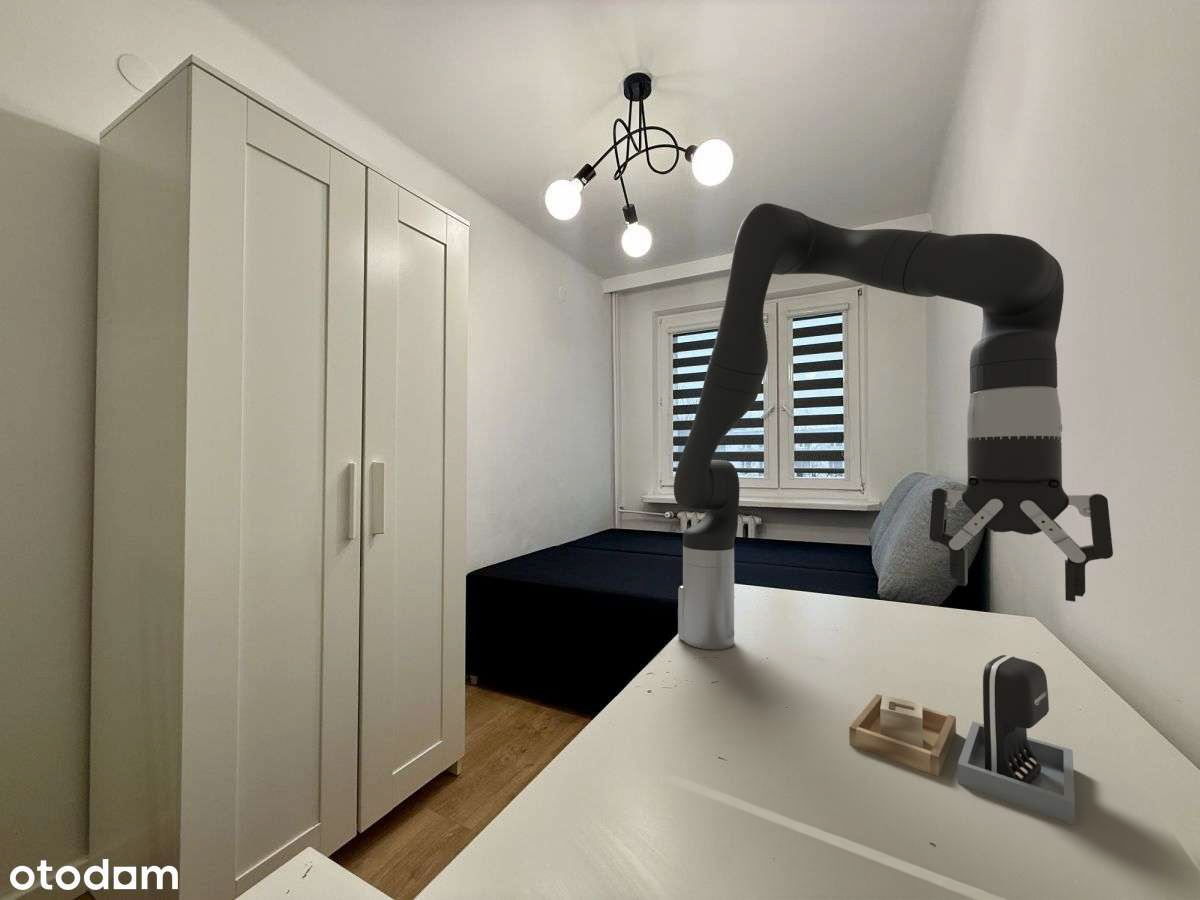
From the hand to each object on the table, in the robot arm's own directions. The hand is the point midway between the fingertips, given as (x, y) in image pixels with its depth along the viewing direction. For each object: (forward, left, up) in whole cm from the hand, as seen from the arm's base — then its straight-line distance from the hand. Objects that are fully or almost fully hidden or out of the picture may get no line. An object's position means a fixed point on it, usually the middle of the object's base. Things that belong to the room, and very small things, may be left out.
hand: (1013, 591), depth 51 cm
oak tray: (-10, 0, -19) cm, 22 cm away
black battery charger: (0, 0, -19) cm, 19 cm away
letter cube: (-10, -1, -19) cm, 21 cm away
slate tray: (0, 0, -19) cm, 19 cm away
